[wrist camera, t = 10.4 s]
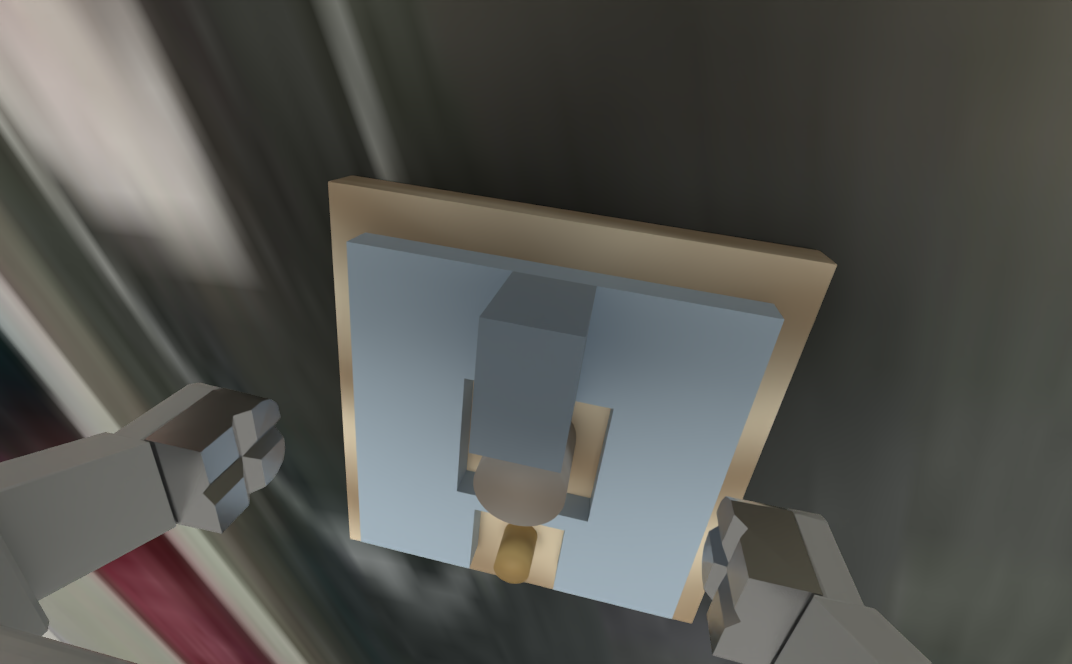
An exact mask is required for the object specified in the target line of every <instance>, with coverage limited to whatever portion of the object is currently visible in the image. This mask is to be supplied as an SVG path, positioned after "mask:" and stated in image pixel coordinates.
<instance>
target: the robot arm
mask: <svg viewBox="0 0 1072 664" xmlns="http://www.w3.org/2000/svg"><path fill="white" fill-rule="evenodd" d="M279 419H280V413H279V408H278V404H277V403H276V402H274V401H272V400H271V399H268V398H263V397H259V396H255V395H251V394H247V393H242V392H238V391H234V390H230V389H226V388H219V387H215V386H211V385H207V384H203V383H194V384H188V385H187V386H185V387H184V388H182V389H181V390H179V391H178V392H176V393H175V394H173V395H172V396H170V397H169V398H167V399H166V400H164V401H163V402H161V403H160V404H158V405H157V406H155V407H154V408H152V409H150V410H149V411H147V412H146V413H144V414H143V415H141V416H140V417H138V418H137V419H135V420H134V421H132V422H131V423H129V424H128V425H126V426H125V427H123V428H122V429H120V430H119V431H117V432H116V433H114V434H112V433H107V432H104V433H101V434H97V435H94V436H90V437H87V438H84V439H80V440H77V441H73V442H70V443H66V444H63V445H60V446H56V447H53V448H49V449H46V450H42V451H39V452H36V453H32V454H29V455H25V456H22V457H18V458H15V459H12V460H8V461H5V462H1V463H0V664H137V663H133V662H130V661H126V660H123V659H119V658H116V657H112V656H109V655H105V654H102V653H98V652H95V651H91V650H88V649H84V648H81V647H77V646H74V645H70V644H67V643H63V642H59V641H56V640H52V639H49V638H45V637H42V635H43V634H44V633H45V632H47V630H48V625H49V620H48V618H47V616H46V615H45V613H44V611H43V609H42V607H41V606H40V604H39V602H38V601H39V600H41V599H42V598H44V597H46V596H48V595H50V594H52V593H54V592H55V591H57V590H59V589H61V588H63V587H65V586H67V585H68V584H70V583H72V582H74V581H76V580H78V579H80V578H81V577H83V576H85V575H87V574H89V573H91V572H93V571H94V570H96V569H98V568H100V567H102V566H104V565H106V564H107V563H109V562H111V561H113V560H115V559H117V558H119V557H120V556H122V555H124V554H126V553H128V552H130V551H132V550H133V549H135V548H137V547H139V546H141V545H143V544H144V543H146V542H148V541H150V540H152V539H154V538H156V537H157V536H159V535H161V534H163V533H165V532H167V531H169V530H170V529H172V528H174V527H176V524H180V525H185V526H189V527H194V528H199V529H203V530H208V531H213V532H217V533H223V532H224V531H225V530H226V529H227V528H228V527H229V525H230V524H231V523H232V522H233V521H234V520H235V519H236V518H237V517H238V516H239V515H240V514H241V513H242V512H243V510H244V509H245V508H246V507H247V506H248V505H249V497H250V493H252V492H254V491H256V490H259V489H261V488H263V487H265V486H267V484H268V483H269V482H270V481H271V480H272V479H273V478H274V477H275V475H276V474H277V472H278V470H279V468H280V466H281V464H282V461H283V459H284V451H285V444H284V437H283V436H282V434H281V433H280V432H279V431H278V429H277V428H276V427H275V424H276V423H277V422H278V421H279ZM716 514H717V519H718V525H719V526H717V527H715V528H713V529H712V530H710V531H709V532H708V535H707V538H706V541H705V544H704V549H703V556H702V581H703V589H704V590H705V591H706V593H707V594H708V595H709V597H710V598H711V599H712V603H711V605H710V607H709V610H708V612H707V619H708V627H709V634H710V641H711V648H712V655H714V656H718V657H721V658H725V659H728V660H732V661H736V662H739V663H743V664H932V663H931V662H930V661H929V660H928V659H927V658H926V657H925V656H924V655H923V654H922V653H921V652H920V651H919V650H918V649H917V648H916V647H914V646H913V645H912V644H911V643H910V642H909V641H908V640H907V639H906V638H905V637H904V636H903V635H902V634H901V633H900V632H899V631H898V630H897V629H896V628H895V627H893V626H892V625H891V624H890V623H889V622H888V621H887V620H886V619H885V618H884V617H883V616H882V615H881V614H880V613H879V612H878V611H877V610H876V609H873V608H869V607H865V606H864V604H863V602H862V600H861V598H860V595H859V593H858V591H857V589H856V586H855V584H854V582H853V580H852V577H851V575H850V573H849V571H848V569H847V566H846V564H845V562H844V560H843V557H842V555H841V553H840V551H839V548H838V546H837V544H836V542H835V539H834V537H833V535H832V533H831V530H830V528H829V526H828V524H827V521H826V520H825V519H824V518H823V517H822V516H821V515H820V514H815V513H810V512H804V511H799V510H794V509H789V508H788V509H785V508H782V507H777V506H772V505H767V504H762V503H757V502H752V501H747V500H743V499H738V498H733V497H728V496H725V497H724V498H723V499H722V501H721V502H720V505H719V507H718V509H717V512H716Z"/></svg>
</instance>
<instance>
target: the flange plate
mask: <svg viewBox="0 0 1072 664" xmlns="http://www.w3.org/2000/svg"><path fill="white" fill-rule="evenodd" d="M346 244H347V265H348V285H349V306H350V327H351V347H352V368H353V389H354V409H355V430H356V451H357V471H358V492H359V513H360V533H361V542H365V543H369V544H373V545H377V546H381V547H385V548H389V549H393V550H397V551H401V552H405V553H409V554H413V555H417V556H421V557H425V558H429V559H433V560H437V561H441V562H445V563H449V564H453V565H457V566H461V567H465V568H470V565H471V563H472V560H473V557H474V554H475V551H476V549H477V546H478V537H479V527H480V517H481V511H484V512H488V511H487V510H486V509H485V508H484V507H483V506H482V505H481V504H480V502H479V500H478V499H477V497H476V495H475V491H474V487H473V479H474V474H475V472H472V471H468V470H467V457H468V444H469V453H472V454H476V455H481V456H485V457H490V458H494V459H499V460H503V461H508V462H512V463H517V464H521V465H526V466H530V467H535V468H539V469H544V470H548V471H553V472H557V473H561V469H562V464H563V459H564V454H565V450H566V445H567V440H568V435H569V430H570V425H571V420H572V415H573V410H574V406H575V401H577V402H582V403H587V404H592V405H597V406H602V407H606V408H611V410H610V415H609V419H608V424H607V428H606V432H605V437H604V441H603V446H602V450H601V455H600V459H599V463H598V468H597V472H596V477H595V481H594V486H593V490H592V494H591V498H587V497H583V496H578V495H574V494H570V493H567V494H566V500H565V504H564V507H563V509H562V511H561V512H560V513H559V514H558V515H557V516H556V517H555V518H554V519H553V520H551V521H549V522H547V523H545V524H542V525H543V526H547V527H552V528H556V529H560V530H564V534H563V539H562V544H561V549H560V553H559V558H558V563H557V569H556V575H555V581H554V586H553V590H557V591H561V592H565V593H569V594H573V595H577V596H581V597H585V598H589V599H593V600H597V601H602V602H606V603H610V604H614V605H618V606H622V607H626V608H630V609H634V610H638V611H642V612H646V613H650V614H654V615H658V616H662V617H666V618H670V619H672V617H673V615H674V612H675V609H676V607H677V604H678V601H679V599H680V596H681V593H682V591H683V588H684V585H685V583H686V580H687V577H688V575H689V572H690V569H691V567H692V564H693V561H694V559H695V556H696V554H697V551H698V548H699V546H700V543H701V540H702V538H703V535H704V532H705V530H706V527H707V524H708V522H709V519H710V516H711V514H712V511H713V508H714V506H715V503H716V500H717V498H718V495H719V492H720V490H721V487H722V484H723V482H724V479H725V476H726V474H727V471H728V468H729V466H730V463H731V460H732V458H733V455H734V452H735V450H736V447H737V444H738V442H739V439H740V437H741V434H742V431H743V429H744V426H745V423H746V421H747V418H748V415H749V413H750V410H751V407H752V405H753V402H754V399H755V397H756V394H757V391H758V389H759V386H760V383H761V381H762V378H763V375H764V373H765V370H766V367H767V365H768V362H769V359H770V357H771V354H772V351H773V349H774V346H775V343H776V341H777V338H778V335H779V333H780V330H781V327H782V325H783V322H784V320H785V319H784V318H783V317H782V315H781V314H780V312H779V311H778V309H777V308H776V306H775V305H774V304H772V303H766V302H761V301H755V300H749V299H744V298H738V297H732V296H726V295H721V294H715V293H709V292H704V291H698V290H692V289H686V288H681V287H675V286H669V285H664V284H658V283H652V282H646V281H641V280H635V279H629V278H623V277H618V276H612V275H606V274H601V273H595V272H589V271H583V270H578V269H572V268H566V267H561V266H555V265H549V264H543V263H538V262H532V261H526V260H521V259H515V258H509V257H503V256H498V255H492V254H486V253H481V252H475V251H469V250H463V249H458V248H452V247H446V246H441V245H435V244H429V243H423V242H418V241H412V240H406V239H400V238H395V237H389V236H383V235H378V234H372V233H366V232H365V233H363V234H361V235H359V236H357V237H355V238H353V239H351V240H349V241H346ZM473 380H474V390H473ZM472 392H473V403H472ZM471 405H472V416H471ZM470 418H471V429H470ZM469 431H470V442H469ZM488 513H489V512H488Z"/></svg>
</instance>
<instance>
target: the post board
mask: <svg viewBox="0 0 1072 664" xmlns="http://www.w3.org/2000/svg"><path fill="white" fill-rule="evenodd" d="M328 189H329V205H330V222H331V238H332V254H333V270H334V286H335V302H336V318H337V334H338V350H339V366H340V383H341V399H342V415H343V431H344V447H345V463H346V479H347V495H348V511H349V528H350V539H354V540H358V541H361V533H360V513H359V492H358V471H357V451H356V430H355V409H354V389H353V368H352V347H351V327H350V306H349V285H348V265H347V244H346V241H349V240H351V239H353V238H355V237H357V236H359V235H361V234H363V233H365V232H366V233H372V234H378V235H383V236H389V237H395V238H400V239H406V240H412V241H418V242H423V243H429V244H435V245H441V246H446V247H452V248H458V249H463V250H469V251H475V252H481V253H486V254H492V255H498V256H503V257H509V258H515V259H521V260H526V261H532V262H538V263H543V264H549V265H555V266H561V267H566V268H572V269H578V270H583V271H589V272H595V273H601V274H606V275H612V276H618V277H623V278H629V279H635V280H641V281H646V282H652V283H658V284H664V285H669V286H675V287H681V288H686V289H692V290H698V291H704V292H709V293H715V294H721V295H726V296H732V297H738V298H744V299H749V300H755V301H761V302H766V303H772V304H774V305H775V306H776V308H777V309H778V311H779V312H780V314H781V315H782V317H783V318H784V319H785V320H784V322H783V325H782V327H781V330H780V333H779V335H778V338H777V341H776V343H775V346H774V349H773V351H772V354H771V357H770V359H769V362H768V365H767V367H766V370H765V373H764V375H763V378H762V381H761V383H760V386H759V389H758V391H757V394H756V397H755V399H754V402H753V405H752V407H751V410H750V413H749V415H748V418H747V421H746V423H745V426H744V429H743V431H742V434H741V437H740V439H739V442H738V444H737V447H736V450H735V452H734V455H733V458H732V460H731V463H730V466H729V468H728V471H727V474H726V476H725V479H724V482H723V484H722V487H721V490H720V492H719V495H718V498H717V500H716V503H715V506H714V508H713V511H712V514H711V516H710V519H709V522H708V524H707V527H706V530H705V532H704V535H703V538H702V540H701V543H700V546H699V548H698V551H697V554H696V556H695V559H694V561H693V564H692V567H691V569H690V572H689V575H688V577H687V580H686V583H685V585H684V588H683V591H682V593H681V596H680V599H679V601H678V604H677V607H676V609H675V612H674V615H673V617H672V619H675V620H679V621H683V622H687V623H691V624H692V622H693V619H694V617H695V614H696V612H697V609H698V607H699V604H700V602H701V600H702V597H703V595H704V592H705V590H704V589H703V581H702V556H703V549H704V544H705V541H706V538H707V535H708V532H709V531H710V530H712V529H713V528H715V527H717V526H719V525H718V519H717V514H716V512H717V509H718V507H719V505H720V502H721V501H722V499H723V498H724V497H725V496H728V497H733V498H738V499H742V498H743V496H744V493H745V491H746V489H747V486H748V484H749V481H750V479H751V476H752V474H753V471H754V469H755V466H756V464H757V461H758V459H759V456H760V454H761V452H762V449H763V447H764V444H765V442H766V439H767V437H768V434H769V432H770V429H771V427H772V424H773V422H774V419H775V417H776V415H777V412H778V410H779V407H780V405H781V402H782V400H783V397H784V395H785V392H786V390H787V387H788V385H789V382H790V380H791V378H792V375H793V373H794V370H795V368H796V365H797V363H798V360H799V358H800V355H801V353H802V350H803V348H804V345H805V343H806V341H807V338H808V336H809V333H810V331H811V328H812V326H813V323H814V321H815V318H816V316H817V313H818V311H819V308H820V306H821V304H822V301H823V299H824V296H825V294H826V291H827V289H828V286H829V284H830V281H831V279H832V276H833V274H834V271H835V269H836V267H837V264H836V263H834V262H833V261H832V260H831V259H829V258H828V257H827V256H826V255H824V254H823V253H822V252H821V251H819V250H813V249H806V248H800V247H794V246H788V245H782V244H775V243H769V242H763V241H757V240H751V239H744V238H738V237H732V236H726V235H720V234H713V233H707V232H701V231H695V230H689V229H682V228H676V227H670V226H664V225H658V224H651V223H645V222H639V221H633V220H626V219H620V218H614V217H608V216H602V215H595V214H589V213H583V212H577V211H571V210H564V209H558V208H552V207H546V206H540V205H533V204H527V203H521V202H515V201H509V200H502V199H496V198H490V197H484V196H478V195H471V194H465V193H459V192H453V191H447V190H440V189H434V188H428V187H422V186H416V185H409V184H403V183H397V182H391V181H385V180H378V179H372V178H366V177H360V176H354V175H351V176H347V177H343V178H340V179H336V180H332V181H328ZM473 390H474V380H473ZM472 403H473V392H472ZM610 410H611V408H606V407H602V406H597V405H592V404H587V403H582V402H577V401H575V406H574V410H573V415H572V420H571V425H570V430H569V435H568V440H567V445H566V450H565V454H564V459H563V464H562V469H561V473H557V472H553V471H548V470H544V469H539V468H535V467H530V466H526V465H521V464H517V463H512V462H508V461H503V460H499V459H494V458H490V457H485V456H481V455H476V454H472V453H469V444H468V457H467V470H468V471H472V472H475V474H474V479H473V487H474V491H475V495H476V497H477V499H478V500H479V502H480V504H481V505H482V506H483V507H484V508H485V509H486V510H487V511H488V512H489V513H488V512H484V511H481V517H480V527H479V537H478V546H477V549H476V551H475V554H474V557H473V560H472V563H471V565H470V568H471V569H475V570H479V571H483V572H487V573H491V574H495V575H497V576H498V577H499V578H500V579H502V580H504V581H506V582H509V583H522V582H527V583H531V584H535V585H539V586H543V587H547V588H551V589H553V586H554V581H555V575H556V569H557V563H558V558H559V553H560V549H561V544H562V539H563V534H564V530H560V529H556V528H552V527H547V526H543V525H542V524H545V523H547V522H549V521H551V520H553V519H554V518H555V517H556V516H557V515H558V514H559V513H560V512H561V511H562V509H563V507H564V504H565V500H566V494H567V493H570V494H574V495H578V496H583V497H587V498H591V494H592V490H593V486H594V481H595V477H596V472H597V468H598V463H599V459H600V455H601V450H602V446H603V441H604V437H605V432H606V428H607V424H608V419H609V415H610ZM471 416H472V405H471ZM470 429H471V418H470ZM469 442H470V431H469Z"/></svg>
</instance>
